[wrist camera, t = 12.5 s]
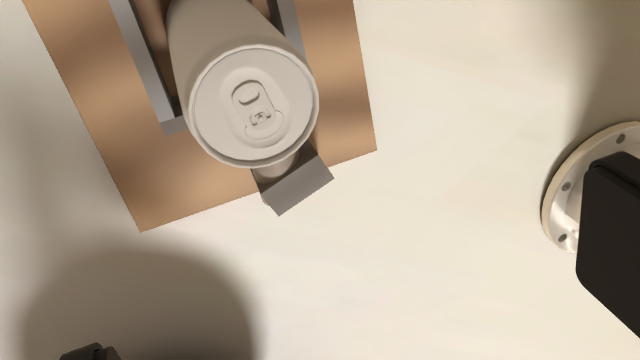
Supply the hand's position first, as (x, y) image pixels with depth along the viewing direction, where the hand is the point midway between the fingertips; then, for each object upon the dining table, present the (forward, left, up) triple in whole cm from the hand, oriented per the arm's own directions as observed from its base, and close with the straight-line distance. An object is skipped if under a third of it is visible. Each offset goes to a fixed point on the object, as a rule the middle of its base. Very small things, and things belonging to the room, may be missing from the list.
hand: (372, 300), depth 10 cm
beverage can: (0, 0, -22) cm, 22 cm away
